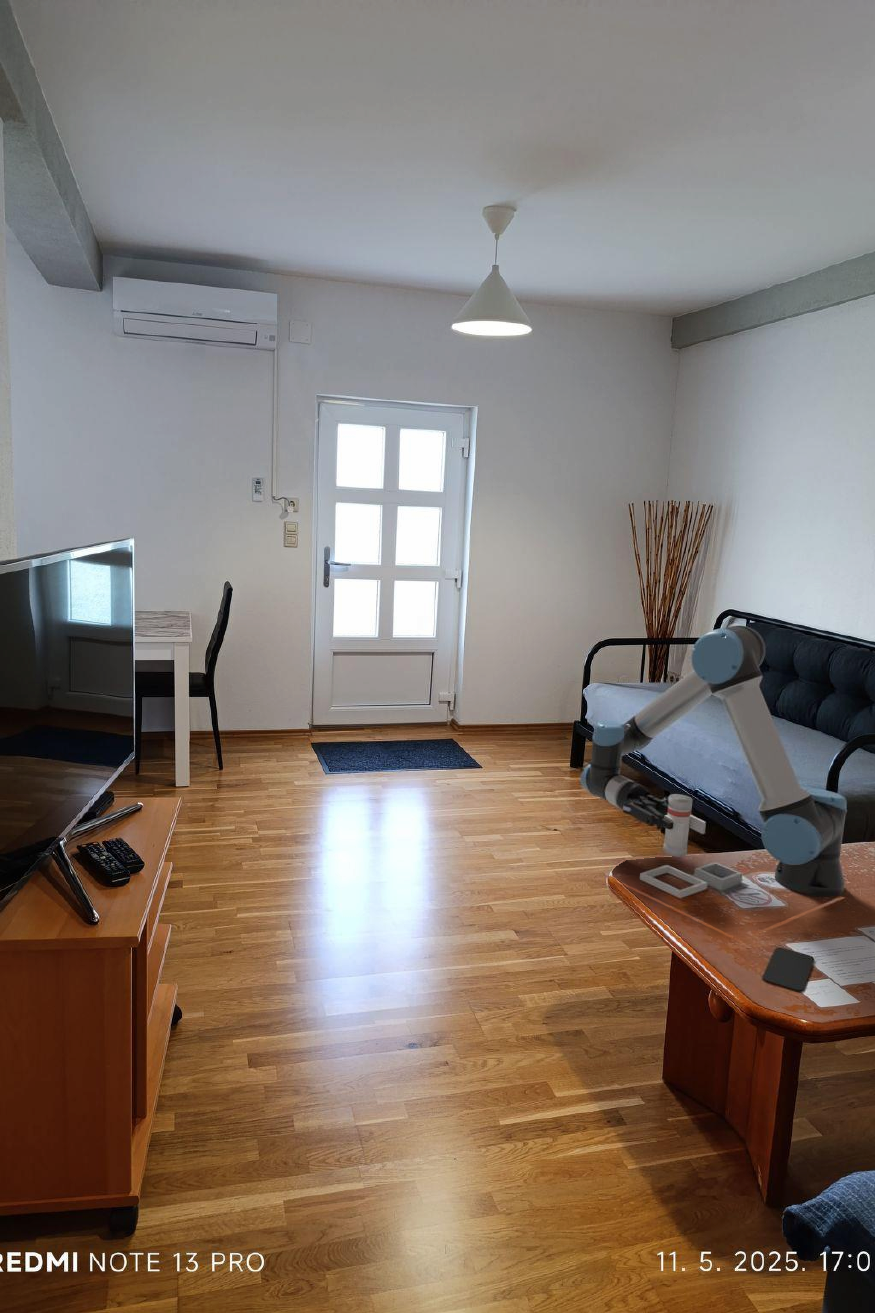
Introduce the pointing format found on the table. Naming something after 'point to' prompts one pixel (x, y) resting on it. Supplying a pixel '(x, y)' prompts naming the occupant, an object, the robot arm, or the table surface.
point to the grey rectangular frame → (697, 886)
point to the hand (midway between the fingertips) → (694, 829)
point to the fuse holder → (720, 877)
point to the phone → (788, 969)
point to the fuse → (681, 811)
